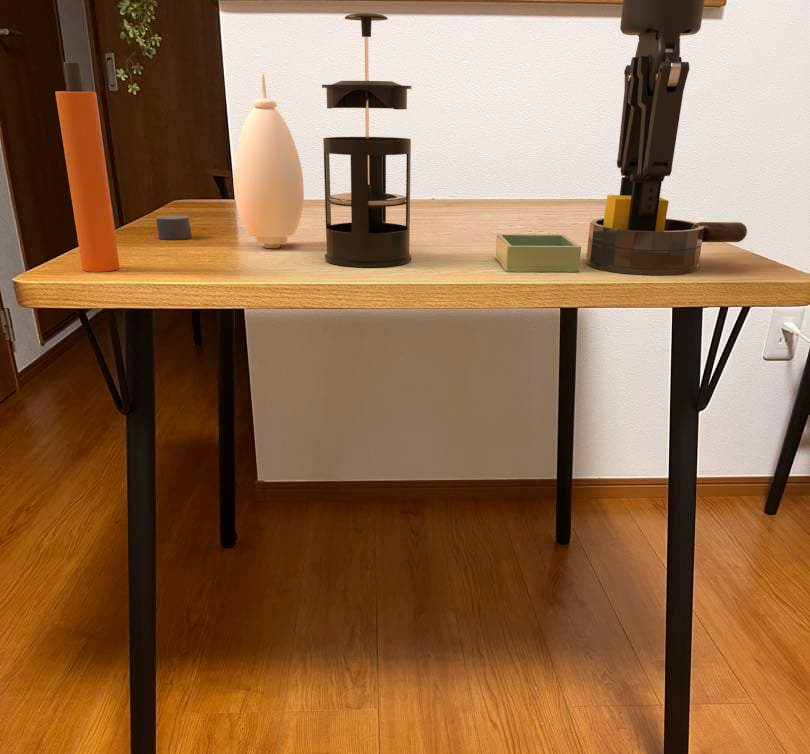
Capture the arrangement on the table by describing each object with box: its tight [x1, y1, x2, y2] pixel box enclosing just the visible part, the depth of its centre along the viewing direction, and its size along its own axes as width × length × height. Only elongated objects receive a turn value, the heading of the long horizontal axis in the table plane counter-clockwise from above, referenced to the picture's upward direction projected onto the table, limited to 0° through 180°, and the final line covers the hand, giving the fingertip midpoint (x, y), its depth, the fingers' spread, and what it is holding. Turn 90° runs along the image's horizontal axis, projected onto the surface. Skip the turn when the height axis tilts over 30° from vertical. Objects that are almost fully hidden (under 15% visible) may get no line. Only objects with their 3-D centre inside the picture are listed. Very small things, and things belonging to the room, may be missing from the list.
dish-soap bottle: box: [55, 61, 120, 273], centre depth 85 cm, size 4×4×18 cm
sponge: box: [603, 194, 670, 231], centre depth 93 cm, size 6×4×6 cm
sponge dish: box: [494, 233, 582, 273], centre depth 93 cm, size 8×8×2 cm
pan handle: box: [691, 221, 748, 243], centre depth 93 cm, size 6×2×2 cm, turn 92°
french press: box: [321, 12, 412, 268], centre depth 90 cm, size 12×9×23 cm
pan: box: [586, 217, 704, 276], centre depth 93 cm, size 12×12×4 cm
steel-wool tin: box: [155, 214, 192, 241], centre depth 108 cm, size 4×4×2 cm
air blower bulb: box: [233, 72, 305, 249], centre depth 98 cm, size 8×8×18 cm
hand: (633, 244), depth 93 cm, fingers closed on sponge, 4 cm apart
